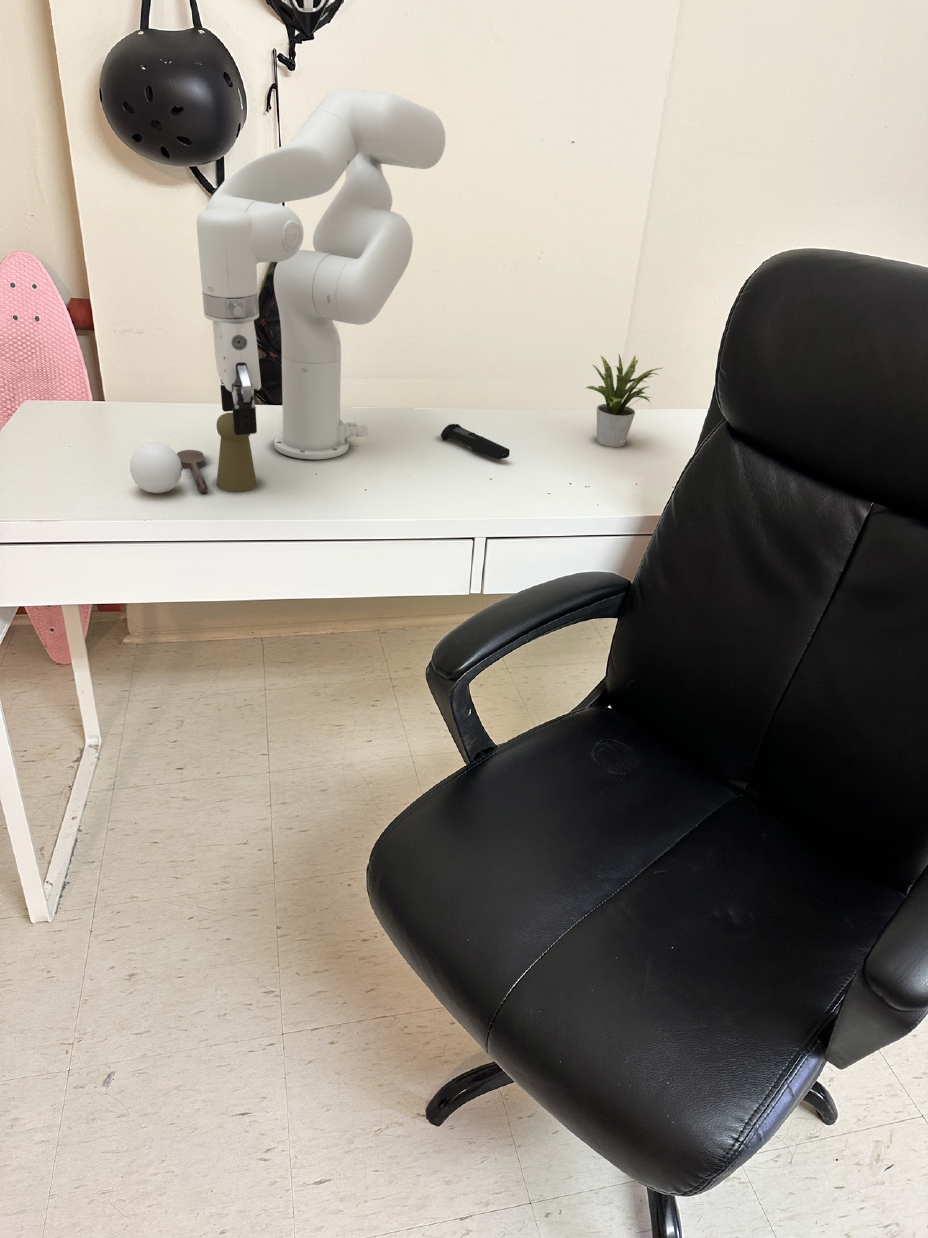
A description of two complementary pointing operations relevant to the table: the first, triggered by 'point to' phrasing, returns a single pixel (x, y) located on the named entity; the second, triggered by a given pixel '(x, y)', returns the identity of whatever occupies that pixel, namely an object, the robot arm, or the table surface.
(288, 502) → the table surface
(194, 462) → the wooden spoon
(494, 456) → the electric trimmer
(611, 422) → the house plant
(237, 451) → the cork
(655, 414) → the table surface
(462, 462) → the table surface
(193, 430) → the table surface
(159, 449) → the white ovoid
